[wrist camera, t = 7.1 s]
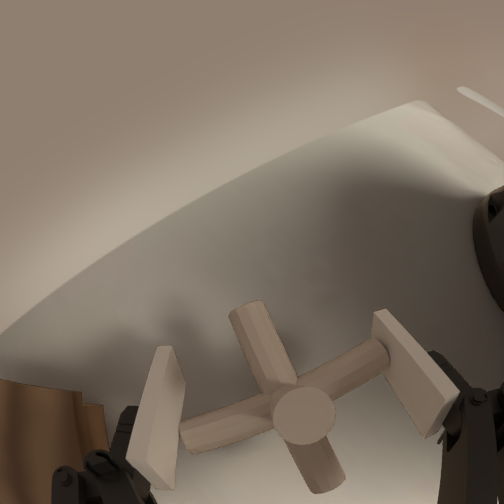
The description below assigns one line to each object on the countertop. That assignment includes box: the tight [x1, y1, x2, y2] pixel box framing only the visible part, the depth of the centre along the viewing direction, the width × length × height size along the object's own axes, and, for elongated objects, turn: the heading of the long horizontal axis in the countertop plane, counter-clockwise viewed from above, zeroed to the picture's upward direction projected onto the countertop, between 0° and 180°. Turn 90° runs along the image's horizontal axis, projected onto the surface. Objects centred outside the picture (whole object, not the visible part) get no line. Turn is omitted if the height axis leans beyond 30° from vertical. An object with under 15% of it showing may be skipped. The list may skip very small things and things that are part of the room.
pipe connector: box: [179, 300, 389, 494], centre depth 11 cm, size 10×10×10 cm
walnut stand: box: [0, 379, 110, 504], centre depth 10 cm, size 13×13×5 cm
